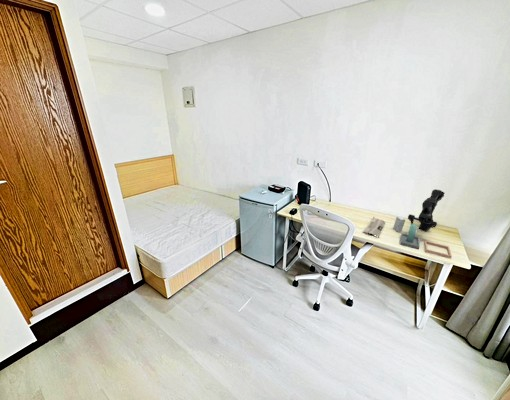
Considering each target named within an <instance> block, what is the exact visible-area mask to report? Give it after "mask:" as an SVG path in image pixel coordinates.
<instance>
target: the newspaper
mask: <svg viewBox="0 0 510 400" xmlns="http://www.w3.org/2000/svg"><path fill="white" fill-rule="evenodd" d="M385 225H386V221H385V220H383V219H380V218H376V217H374V216H373V217H372V219H371V220H370V221H369V223H368V225H367V226H366V227H365V228H364V229H363V230H362V232H364V234H365V235H367V234H368V233H369V234H372V235H376V236H378V238H379V237H380V235H381V233H382V231H383V230H384V226H385ZM369 234H368V235H369ZM378 238H377V239H378Z"/></svg>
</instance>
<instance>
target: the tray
mask: <svg viewBox="0 0 510 400" xmlns="http://www.w3.org/2000/svg"><path fill="white" fill-rule="evenodd" d="M407 236H408V233H403V232H400V241H399V245H401V246H404V247H408V248H411V249H416V250H420V237H419V236H415V237H414V240H413V242H412V243H410V242H407V241H406V239H407Z"/></svg>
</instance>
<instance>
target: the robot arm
mask: <svg viewBox="0 0 510 400" xmlns="http://www.w3.org/2000/svg"><path fill="white" fill-rule="evenodd" d="M444 194H445V192H444V191H442V190H440V189H436V188H435V189H432V190H431V193H430V196H429V197H427V198H426V199H424V200H423V202H422V203H421V205H422V210H421V212H420V213H419V215H418V217H416V215H415V214H410V213H409V214H408V216H407V220H409V221H410V225H411V224H414V221H418V223H420V224H419V226H418V227H417V230H420V231H422V232H424V233H427V232H428V231H430V229H433V228H436V227H437V225H438V222H436V221H434V219H433V217H434V216H433V212H435V209H436V206H437V205H438V203H439V202H440V201H441V200H442V199H443V198H444V196H445V195H444Z"/></svg>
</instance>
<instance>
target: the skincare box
mask: <svg viewBox="0 0 510 400" xmlns="http://www.w3.org/2000/svg"><path fill="white" fill-rule="evenodd" d="M394 221H395V222H394V224H393V230H394V231H395V232H397V233H403V232H402V231H403V229H404V227H405V222H406V218H404V217H402V216H396V219H395V220H394Z"/></svg>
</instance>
